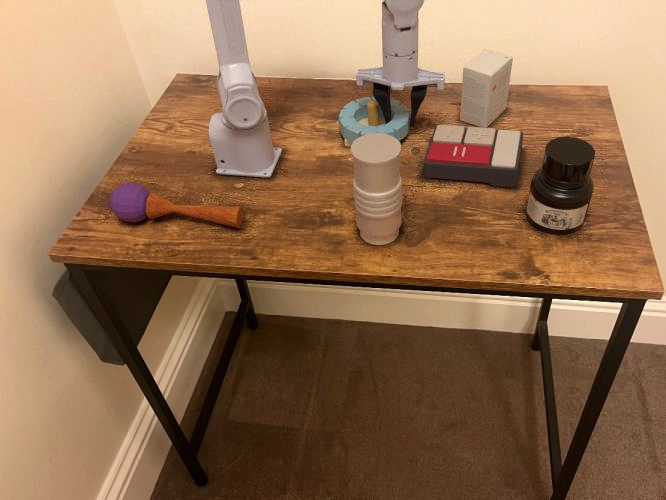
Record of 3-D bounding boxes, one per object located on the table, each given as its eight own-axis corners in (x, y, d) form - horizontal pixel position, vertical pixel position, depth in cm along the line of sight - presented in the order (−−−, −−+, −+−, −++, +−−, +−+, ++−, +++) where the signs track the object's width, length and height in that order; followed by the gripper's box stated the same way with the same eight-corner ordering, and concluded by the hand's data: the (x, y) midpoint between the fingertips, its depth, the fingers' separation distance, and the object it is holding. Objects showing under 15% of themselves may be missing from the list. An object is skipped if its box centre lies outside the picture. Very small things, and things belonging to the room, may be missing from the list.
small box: (480, 101, 117) (485, 47, 110) (506, 109, 115) (514, 55, 107) (458, 120, 113) (462, 66, 105) (485, 130, 111) (491, 75, 103)
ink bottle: (516, 227, 93) (528, 161, 84) (529, 192, 99) (541, 126, 90) (582, 242, 91) (601, 176, 82) (591, 205, 96) (610, 139, 87)
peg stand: (344, 146, 108) (342, 116, 104) (353, 118, 114) (351, 88, 110) (395, 149, 107) (395, 119, 103) (402, 121, 113) (402, 91, 109)
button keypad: (435, 121, 106) (524, 127, 103) (435, 142, 109) (521, 149, 106) (422, 159, 99) (518, 166, 96) (423, 180, 102) (515, 188, 99)
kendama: (231, 221, 90) (98, 202, 91) (238, 244, 95) (112, 227, 96) (242, 189, 93) (113, 172, 94) (248, 214, 98) (126, 197, 99)
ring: (334, 145, 107) (332, 132, 105) (347, 107, 115) (346, 94, 113) (404, 149, 105) (404, 136, 103) (412, 111, 113) (412, 98, 111)
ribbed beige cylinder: (406, 219, 95) (406, 135, 84) (396, 250, 90) (395, 165, 79) (363, 213, 96) (357, 130, 85) (351, 243, 92) (344, 159, 81)
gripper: (350, 58, 97) (355, 133, 107) (443, 62, 95) (440, 138, 105) (358, 37, 101) (362, 110, 111) (447, 41, 100) (443, 115, 110)
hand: (400, 122), depth 108 cm, fingers open, 4 cm apart
